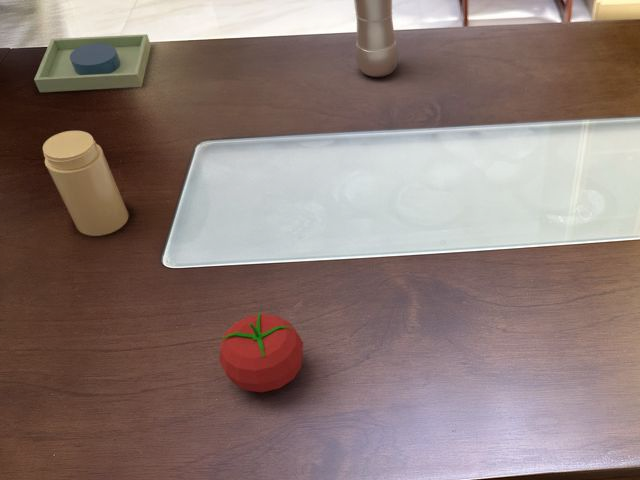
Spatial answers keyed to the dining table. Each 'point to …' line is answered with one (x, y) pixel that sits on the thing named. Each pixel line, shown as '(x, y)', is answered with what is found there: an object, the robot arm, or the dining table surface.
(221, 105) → the dining table surface
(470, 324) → the dining table surface
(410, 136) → the dining table surface
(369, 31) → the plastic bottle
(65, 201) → the jam jar
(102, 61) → the jar lid
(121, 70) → the tray
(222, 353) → the tomato
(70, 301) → the dining table surface
